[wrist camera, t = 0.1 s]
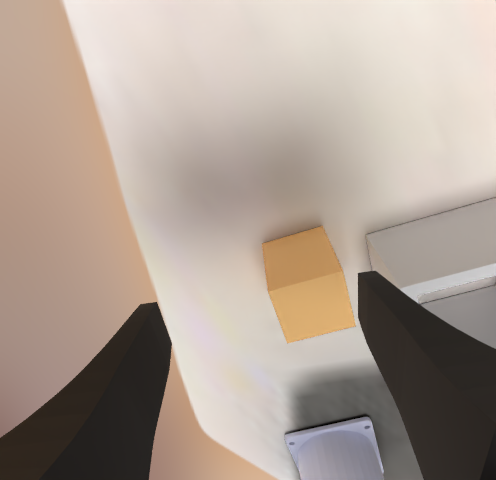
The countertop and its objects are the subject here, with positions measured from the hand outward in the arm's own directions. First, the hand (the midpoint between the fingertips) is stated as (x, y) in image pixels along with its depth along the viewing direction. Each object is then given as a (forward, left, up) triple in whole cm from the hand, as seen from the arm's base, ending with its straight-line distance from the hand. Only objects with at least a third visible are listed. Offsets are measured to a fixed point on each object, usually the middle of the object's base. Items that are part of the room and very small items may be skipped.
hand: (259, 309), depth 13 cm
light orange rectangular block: (-5, -2, -10) cm, 12 cm away
